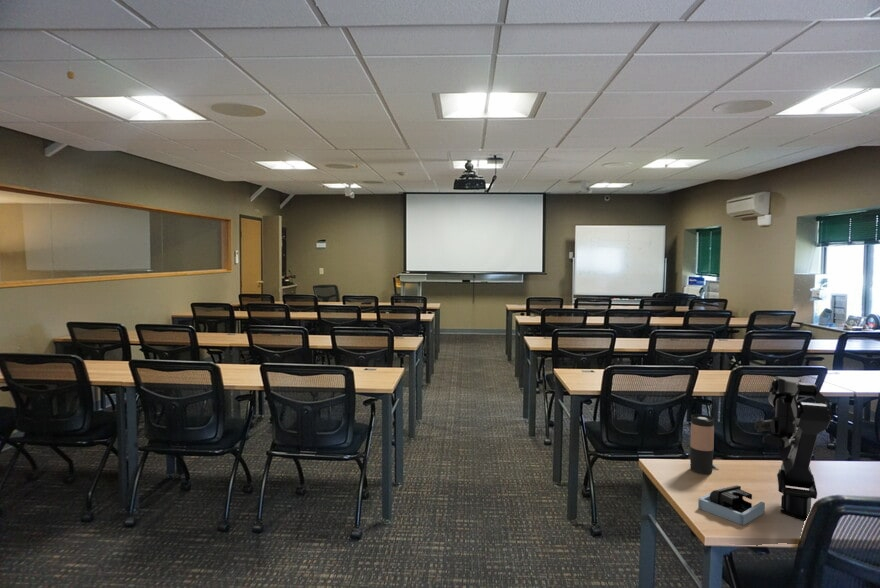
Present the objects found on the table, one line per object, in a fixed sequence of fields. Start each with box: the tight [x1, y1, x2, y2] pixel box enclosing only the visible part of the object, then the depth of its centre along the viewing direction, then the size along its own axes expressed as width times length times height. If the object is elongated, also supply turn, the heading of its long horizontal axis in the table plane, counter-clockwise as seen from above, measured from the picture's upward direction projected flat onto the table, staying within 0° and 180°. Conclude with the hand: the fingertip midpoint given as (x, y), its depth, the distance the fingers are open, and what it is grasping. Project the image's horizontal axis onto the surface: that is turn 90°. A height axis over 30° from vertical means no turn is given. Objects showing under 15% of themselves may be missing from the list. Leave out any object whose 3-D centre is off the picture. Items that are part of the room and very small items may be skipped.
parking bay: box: [697, 487, 766, 526], centre depth 154 cm, size 13×14×3 cm
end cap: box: [710, 485, 753, 513], centre depth 154 cm, size 10×7×7 cm
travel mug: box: [689, 413, 715, 475], centre depth 185 cm, size 8×8×20 cm
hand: (784, 461), depth 165 cm, fingers closed
